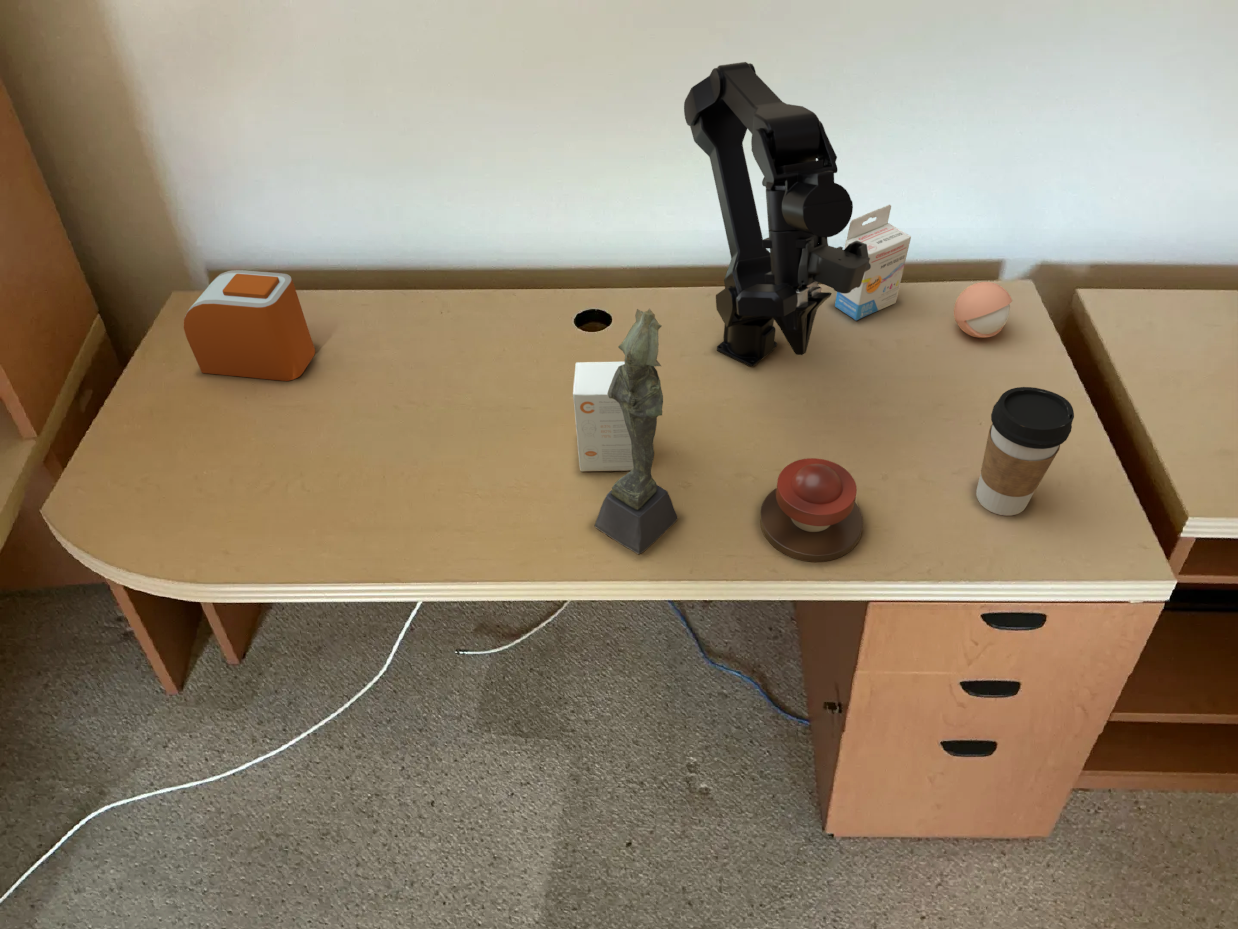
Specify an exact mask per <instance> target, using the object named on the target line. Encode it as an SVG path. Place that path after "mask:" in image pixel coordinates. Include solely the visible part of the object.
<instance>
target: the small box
mask: <svg viewBox="0 0 1238 929" xmlns="http://www.w3.org/2000/svg"><path fill="white" fill-rule="evenodd" d="M624 364H625V361H576V362H575V365H574V366H575V367H574V375H573V376H574V377H573V387H572V399H573V407H574V408H573V410H574V420H575V430H576V441H577V442H576V443H577V453H578V465H579V470H580V472H620V471H621V472H624V471H627V472H628V471H631V470H632V469H633V459H632V445H631V439H630V436H629V433H628V430H627V427H626V424H625V420H624V416H623V412H622V409H621V407H620V404H619V403H618V402H617V401H616V400H614V399H612V398H609V396H608V394H607V393H608V390H609V387H610V384H611V382H612V379H613V377H614V374H615V372H616V370H617V368H618V367H619V366H621V365H624Z"/></svg>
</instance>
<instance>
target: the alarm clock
mask: <svg viewBox="0 0 1238 929" xmlns="http://www.w3.org/2000/svg"><path fill="white" fill-rule="evenodd" d="M183 331H184V334H185V337H186V340H187V342H188V344H189V347H190V349H191V351H192V353H193V356H194V359H195V361H196V363H197V365H198V367H199V369H200V372H201V373H202V374H210V375H211V374H212V375H220V376H232V377H240V378H250V379H251V378H252V379H261V380H273V381H282V382H289V381H293V380H295V379H297V378H299V377H301V376H302V374H303V373H305V370H306V368H307V367H308V366H309V364H310V362H311V361H312V359H313V358H314V356H315V354H316V349H315V348H316V347H315V345H314V343H313V340H312V335H311V333H310V329H309V328H308V324H307V321H306V318H305V315H304V311H303V308H302V305H301V302H300V299H299V296H298V293H297V289H296V286H295V283H294V280H293V278H292V276H290V275H289V274H287V273H281V272H269V271H259V270H258V271H257V270H245V269H233V270H228V271H225V272H221V273H220V274H219V275H217V276H216V277H215V278H214V279H213V280H212V281H211V282H210V284H209V285H208V286H207V287H206V288H205V290H204V291H203V292H202V293H201V294H200V296H199V297H198V298H197V299H196V300H195V302H194V303H193V304H192V305H191V306H190V307H189V309H188V310H187V311H186V313H185V316H184V318H183Z"/></svg>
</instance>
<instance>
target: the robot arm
mask: <svg viewBox="0 0 1238 929" xmlns="http://www.w3.org/2000/svg"><path fill="white" fill-rule="evenodd" d="M683 114H684V119H685V122H686V125H687V126H688V127H690V132H691V135H692V138H693V141H694V143H695V144H696V145H697V146H698V148H700V149H701V151H703V152H704V153H705V154H706V155H707V156H708V158H709V161H710V165H711V170H712V176H713V180H714V184H715V189H716V193H717V198H718V203H719V207H720V212H721V216H722V222H723V226H724V231H725V235H726V240H727V245H728V249H729V254H730V262H729V265H728V267H727V270H726V272H725V276H724V278H723V284H724V288H723V289H722V290H720V291H719V292H718V293H717V294H715V307H716V311H717V313H718V315H719V317H720V319H721V320H722V321H723V323H724V325H723V340H722V341H721V342H720V343H719V344H718V345H717V346H716V351H717V352H719V353H721V354H723V355H725V356H727V357H729V358H731V359H734V360H736V361H738V362H739V363H742V364H744V365H745V366H748V367H755V366H756V365H757V364H758V363H760V361H762V360H764V359H765V358H766V357H767V356H768V355H770V354H771V353H772V352H773V351H774V350H775V349H776V348H777V346H778V342H776V341H775V340H776V339H775V338H776V330H777V328H776V327H775V326H774V322H775V323H776V325H777V326H778V327H779V329H780V331H781V333H782V334H783V336H784V337H785V339H786V341H787V342H788V344H789V346H790V348H791V349H792V351H793V353H794V355H796V356H803V355H805V354H806V353H807V351H808V348H809V342H810V338H811V334H812V331H813V330H812V329H813V327H814V323H815V322H814V321H815V319H816V315H817V311H818V309H819V308H820V307H821V306H822V305H823V304H824V302H826V301H827V300H828V299H829V298H830V297H831V296H832V292H829V291H827V292H825V291H822V286H820V285H819V284H821V285H823V286H827V287H829V288H831V289H833V291H834V292H836V293H837V292H839V293H844V294H846V293H849V292H851V290H852V289H854V288H856V287H857V288H858V287H860V286H861V283H862V279H863V276H864V273H865V272H866V271H868V270H869V269H870V268H871V265H870V263H869V260H870V258H869V257H868V250H867V244H865V243H862V242H859V241H854V242H852V243H850V244H849V245H848V246H847V247H846V248H845V247H844V246H838V247H834V246H831V245H829V242H828V238H832V237H834V236H837V235H838V234H840V233H842V232H843V230H845V228H846V227H848V225H849V224H850V222H851V220H852V215H853V210H854V205H853V200H852V198H851V196H850V193H849V192H848V190H847V189H846V188H845V187H843V185H841V184H839V183H837V182H835V174H837V173H838V165H837V160H838V155H837V154H836V151H835V150H834V148H833V145H832V143H831V141H830V139H829V137H828V135H827V133H826V130H825V127H824V124H823V123H822V121H821V120H820V119H819V117H818V116H817V114H816V113H815V112H814V111H812V110H810V109H808V107H807V108H806V107H805V106H803V105H797V104H789V103H785V102H784V101H782V99H781V98H780V97H779V96H778V95H777V94H776V93H775V92H774V91H773V89H771V88H770V87H769V86H768V85H767V84H766V83H765V82H764V81H763V80H762V78H761V77H760V76H758V74H757V72H756V68H755V66H754V64H753V63H751V62H750V63H749V62H747V61H742V62H733V63H727V64H719V65H718V66H717V67H714V68H713V69H712V70H711V72H710V74H709V75H708V76H707V77H705V78H703V79H702V80H700V81H699V82H698V83H696V84H695V85H693V86H692V87H690V90H689V92H688V93H687V96H686V97H685V99H684V103H683ZM747 131H749V132H750V133H751V140H750V143H751V144H750V145H751V152H752V156H753V158H754V160H755V162H756V164H757V166H758V168H759V170H760V171H761V174H762V176H763V179H762V180H761V185H762V187H765V200H766V201H765V202H766V214H767V215H766V216H767V227H768V237H766V238H764V239H763V233H762V228H761V224H760V218H759V215H758V210H757V204H756V201H755V196H754V191H753V188H752V187H753V186H752V183H751V177H750V173H749V169H748V163H747V159H746V154H745V151H744V145H743V143H744V140H745V137H746V134H747ZM843 247H844V248H843ZM768 249H769V250H768Z"/></svg>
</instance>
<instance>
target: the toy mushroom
mask: <svg viewBox="0 0 1238 929" xmlns="http://www.w3.org/2000/svg"><path fill="white" fill-rule="evenodd" d="M776 481H777V482H776V488H774V489H773V490H771V491H770V492H769V493H768V494H767V495H766V497H765V498H764V500H763V501H762V504H761V507H760V513H759V525H760V529H761V532H762V534H763V535H764V538H765V539H766V540H767V542H768V543H769V544H771V546H772V547H773V548H774V549H776V550H777V551H779V552H781V553H782V554H784V555H786V556H788V557H790V558H793V559H795V560H799V561H802V562H803V561H804V562H811V563H822V562H830V561H833V560H836V559H839V558H841V557H844V556H845V555H847V554H848V553H850V552H851V551H852V550H854V548H855V547H856V546H857V545H858V543H859V541H860V539H861V535H862V532H863V528H864V519H863V514H862V511H861V510H860V509H861V508H860V507H859V506H858V503H857V502H856V498H857V492H858V488H857V483H856V480H855V478H854V477H853V475H852V474H851V473H850V472H849V471H848V470H847V469H845V467H843V466H841V465H840V464H838V463H836V462H833V461H830V460H828V459H823V458H815V457H810V458H809V457H808V458H801V459H797V460H794V461H793V462H791V463H789V464H787V465H786V466H784V467H783V469H782V470H781V471H780V473H779V474H778V477H777V480H776Z"/></svg>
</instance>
